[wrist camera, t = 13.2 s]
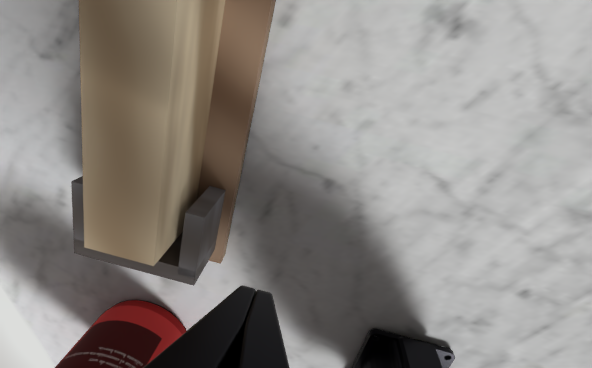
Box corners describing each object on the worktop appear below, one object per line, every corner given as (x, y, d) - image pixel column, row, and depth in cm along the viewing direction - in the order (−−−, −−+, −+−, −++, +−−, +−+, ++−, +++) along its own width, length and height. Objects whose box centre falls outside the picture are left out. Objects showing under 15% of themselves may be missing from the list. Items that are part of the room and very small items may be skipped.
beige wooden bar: (238, -92, 13) (192, -169, 9) (194, 217, 20) (153, 266, 15) (160, -115, 13) (74, -203, 9) (141, 202, 20) (84, 247, 15)
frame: (224, 254, 22) (201, 301, 18) (115, 225, 22) (65, 264, 18) (306, -153, 13) (297, -249, 9) (125, -205, 13) (33, -325, 9)
